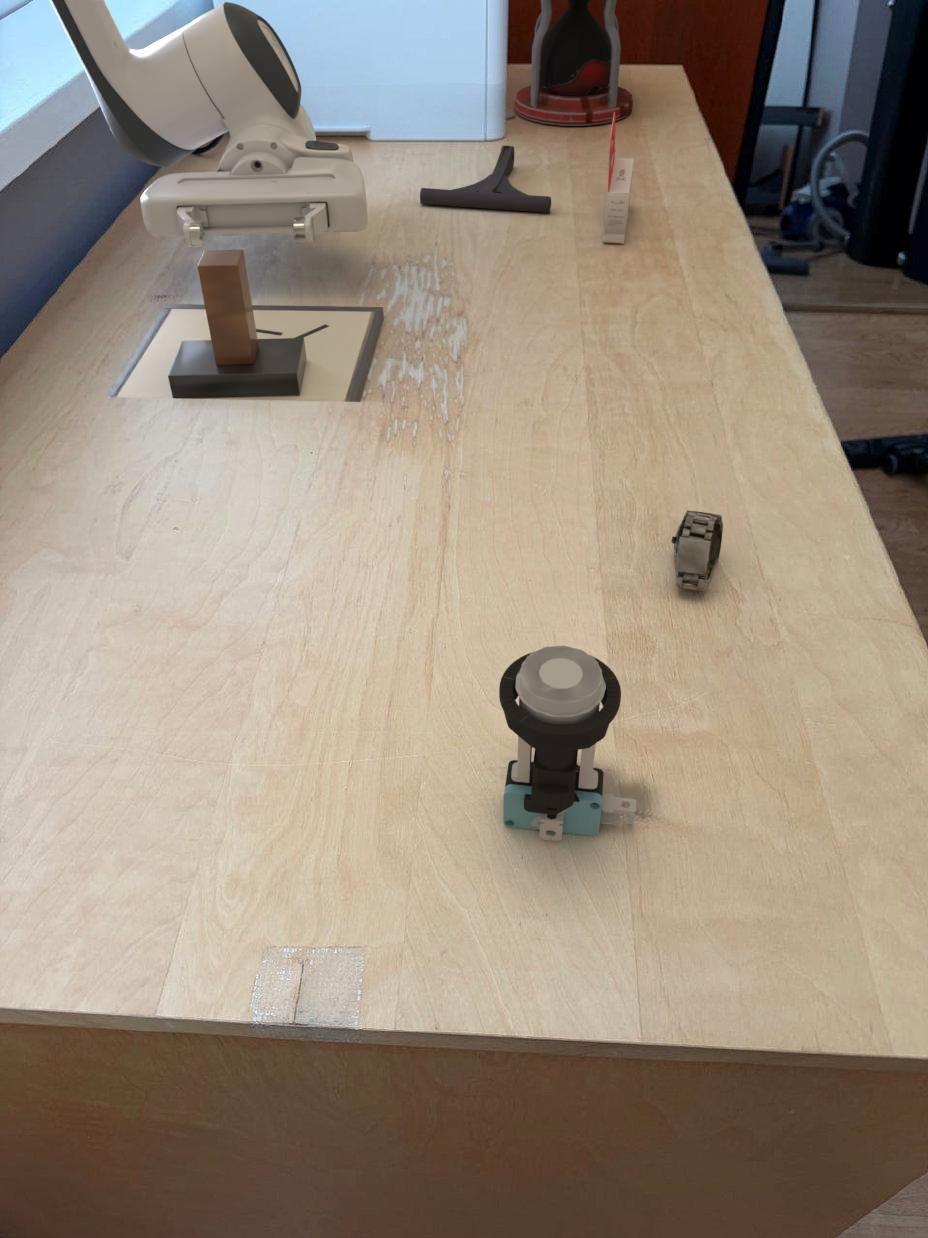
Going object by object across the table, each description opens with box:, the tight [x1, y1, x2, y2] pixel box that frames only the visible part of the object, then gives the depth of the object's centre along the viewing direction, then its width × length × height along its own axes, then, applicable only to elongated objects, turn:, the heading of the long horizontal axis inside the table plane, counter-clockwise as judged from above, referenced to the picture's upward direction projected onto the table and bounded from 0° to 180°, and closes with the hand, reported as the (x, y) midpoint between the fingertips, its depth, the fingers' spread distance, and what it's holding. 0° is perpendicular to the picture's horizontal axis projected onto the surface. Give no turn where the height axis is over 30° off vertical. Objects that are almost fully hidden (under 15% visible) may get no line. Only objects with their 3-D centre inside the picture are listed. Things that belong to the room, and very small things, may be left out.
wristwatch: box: [671, 509, 724, 592], centre depth 64 cm, size 3×5×5 cm
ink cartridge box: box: [602, 112, 635, 245], centre depth 107 cm, size 2×11×10 cm, turn 171°
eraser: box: [168, 249, 307, 399], centre depth 81 cm, size 10×6×10 cm, turn 91°
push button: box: [498, 645, 637, 842], centre depth 48 cm, size 7×5×10 cm
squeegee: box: [419, 145, 552, 214], centre depth 119 cm, size 14×15×3 cm
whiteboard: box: [105, 303, 384, 403], centre depth 86 cm, size 20×22×1 cm
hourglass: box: [513, 0, 634, 127], centre depth 134 cm, size 16×16×25 cm
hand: (247, 236), depth 90 cm, fingers open, 8 cm apart
